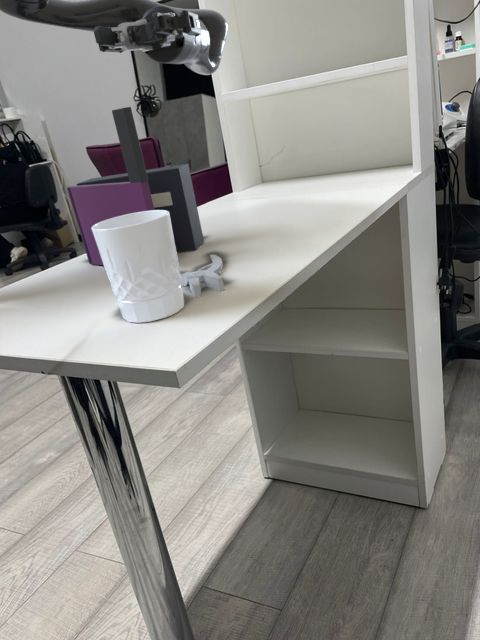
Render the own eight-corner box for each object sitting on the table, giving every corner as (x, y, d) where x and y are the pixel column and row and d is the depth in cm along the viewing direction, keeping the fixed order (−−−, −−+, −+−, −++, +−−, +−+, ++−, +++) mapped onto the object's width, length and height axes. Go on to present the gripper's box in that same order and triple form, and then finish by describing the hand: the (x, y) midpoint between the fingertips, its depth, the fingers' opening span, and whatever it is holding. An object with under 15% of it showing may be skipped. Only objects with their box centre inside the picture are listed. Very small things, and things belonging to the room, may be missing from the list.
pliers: (213, 247, 75) (249, 270, 62) (215, 258, 75) (251, 283, 62) (143, 264, 72) (165, 292, 59) (146, 276, 73) (168, 306, 60)
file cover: (87, 264, 84) (45, 124, 75) (94, 261, 85) (53, 122, 76) (163, 269, 73) (123, 107, 65) (169, 267, 74) (131, 106, 66)
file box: (99, 262, 85) (76, 183, 80) (111, 253, 89) (90, 178, 84) (196, 250, 81) (178, 167, 76) (204, 241, 86) (188, 163, 81)
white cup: (202, 307, 57) (181, 212, 53) (132, 332, 54) (104, 232, 50) (173, 293, 63) (152, 207, 59) (108, 314, 60) (82, 225, 56)
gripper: (125, 19, 86) (71, 7, 71) (209, -1, 82) (169, -17, 68) (137, 71, 89) (87, 70, 75) (219, 54, 85) (183, 50, 71)
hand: (126, 28), depth 71 cm, fingers open, 8 cm apart
